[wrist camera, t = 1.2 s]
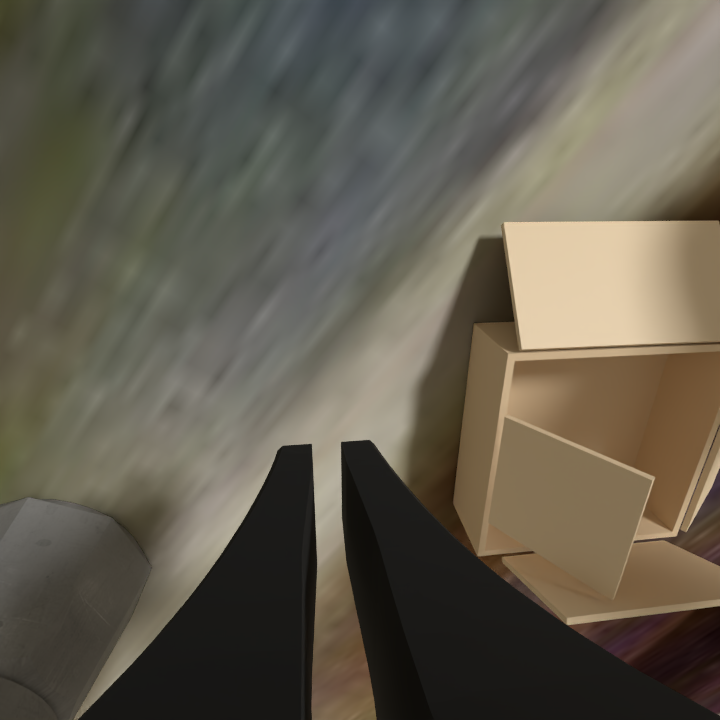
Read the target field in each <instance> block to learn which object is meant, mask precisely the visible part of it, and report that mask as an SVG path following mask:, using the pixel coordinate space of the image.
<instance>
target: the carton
mask: <svg viewBox="0 0 720 720" xmlns="http://www.w3.org/2000/svg"><path fill="white" fill-rule="evenodd" d="M507 415H510V416H513V417H515V418H517V419H520V420H522V421H524V422H527V423H529V424H531V425H534V426H536V427H538V428H541V429H543V430H545V431H548V432H550V433H553V434H555V435H557V436H560V437H562V438H564V439H567V440H569V441H571V442H574V443H576V444H578V445H581V446H583V447H586V448H588V449H590V450H593V451H595V452H597V453H600V454H602V455H604V456H607V457H609V458H611V459H614V460H616V461H618V462H621V463H623V464H626V465H628V466H630V467H633V468H635V469H637V470H640V471H642V472H644V473H647V474H649V475H651V476H654V477H655V479H654V482H653V485H652V488H651V491H650V494H649V497H648V500H647V503H646V506H645V509H644V512H643V515H642V518H641V521H640V524H639V527H638V530H637V533H636V536H635V539H634V540H643V539H653V538H663V537H673V536H677V533H678V531H679V528H680V525H681V523H682V520H683V517H684V515H685V512H686V510H687V507H688V504H689V502H690V499H691V497H692V494H693V491H694V489H695V486H696V484H697V481H698V478H699V476H700V473H701V471H702V468H703V465H704V463H705V460H706V458H707V455H708V452H709V450H710V447H711V444H712V442H713V439H714V437H715V434H716V431H717V429H718V426H719V424H720V342H707V343H685V344H662V345H640V346H617V347H595V348H572V349H550V350H528V351H519V348H518V341H517V334H516V327H515V322H493V323H474V325H473V333H472V342H471V351H470V360H469V368H468V377H467V386H466V394H465V403H464V412H463V420H462V429H461V438H460V447H459V455H458V464H457V473H456V481H455V490H454V499H453V505H454V507H455V509H456V511H457V513H458V515H459V518H460V520H461V522H462V524H463V526H464V528H465V531H466V533H467V535H468V537H469V539H470V541H471V544H472V546H473V548H474V550H475V552H476V554H477V556H487V555H496V554H506V553H516V552H526V551H532V550H531V549H529V548H527V547H526V546H524V545H523V544H521V543H519V542H518V541H516V540H515V539H513V538H511V537H510V536H508V535H507V534H505V533H503V532H502V531H500V530H499V529H497V528H496V527H494V526H492V525H491V524H489V523H488V519H489V513H490V507H491V500H492V494H493V488H494V481H495V475H496V469H497V462H498V456H499V450H500V443H501V437H502V431H503V424H504V418H505V416H507Z"/></svg>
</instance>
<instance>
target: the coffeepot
mask: <svg viewBox="0 0 720 720" xmlns="http://www.w3.org/2000/svg"><path fill="white" fill-rule="evenodd" d="M151 569H152V567H151V566H150V564H149V562H148V560H147V558H146V557H145V555H144V553H143V551H142V550H141V548H140V546H139V545H138V543H137V542H136V540H135V538H134V537H133V536H132V535H131V534H130V533H129V532H128V531H127V530H126V529H125V528H124V527H123V526H121V525H120V524H118V523H117V522H116V521H115V520H114V519H113V518H112V517H109V516H107V515H105V514H103V513H101V512H98V511H96V510H94V509H91V508H88V507H85V506H82V505H79V504H76V503H71V502H65V501H60V500H52V499H34V498H30V497H27V498H24V499H20V500H16V501H12V502H9V503H5V504H1V505H0V720H73V719H74V717H75V715H76V714H77V712H78V710H79V708H80V707H81V705H82V703H83V701H84V699H85V698H86V696H87V694H88V692H89V691H90V689H91V687H92V685H93V684H94V682H95V680H96V678H97V676H98V675H99V673H100V671H101V669H102V668H103V666H104V664H105V662H106V661H107V659H108V657H109V655H110V654H111V652H112V650H113V648H114V646H115V645H116V643H117V641H118V639H119V638H120V636H121V634H122V632H123V631H124V629H125V627H126V625H127V623H128V622H129V620H130V618H131V616H132V614H133V612H134V610H135V607H136V605H137V602H138V600H139V598H140V595H141V593H142V590H143V588H144V586H145V583H146V581H147V578H148V576H149V574H150V571H151Z"/></svg>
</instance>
